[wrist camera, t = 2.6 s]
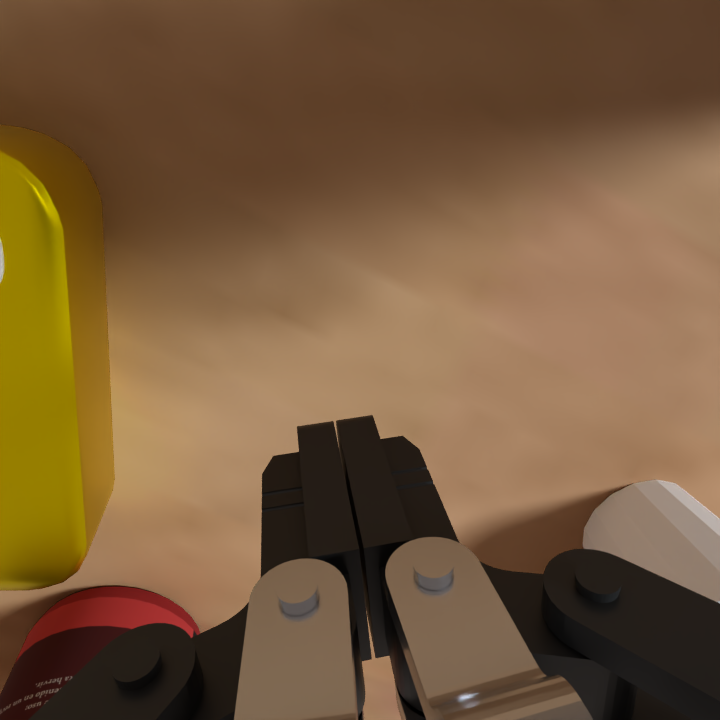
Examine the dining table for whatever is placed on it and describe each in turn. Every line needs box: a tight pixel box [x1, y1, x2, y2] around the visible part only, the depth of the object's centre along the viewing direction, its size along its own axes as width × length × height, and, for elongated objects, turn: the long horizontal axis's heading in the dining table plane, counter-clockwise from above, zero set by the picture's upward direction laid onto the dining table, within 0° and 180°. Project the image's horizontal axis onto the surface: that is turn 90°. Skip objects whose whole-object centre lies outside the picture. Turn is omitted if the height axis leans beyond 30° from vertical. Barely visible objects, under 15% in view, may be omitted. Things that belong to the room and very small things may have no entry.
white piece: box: [583, 480, 720, 603], centre depth 25 cm, size 7×7×7 cm
